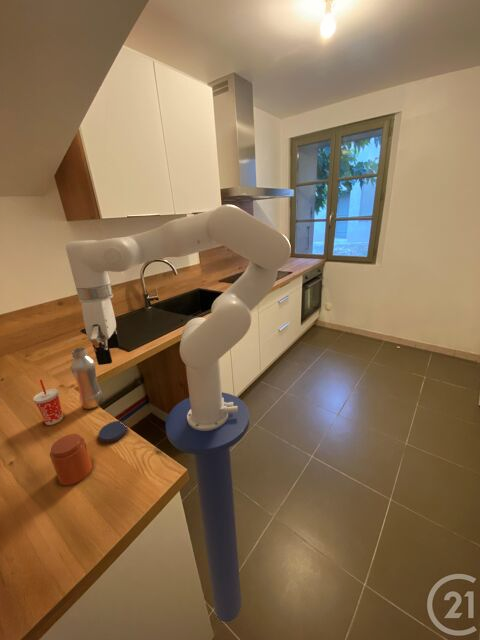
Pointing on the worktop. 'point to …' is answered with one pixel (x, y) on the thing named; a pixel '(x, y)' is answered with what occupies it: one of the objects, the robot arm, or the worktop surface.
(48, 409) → the beverage cup
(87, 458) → the jar
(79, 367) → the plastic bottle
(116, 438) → the lid
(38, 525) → the worktop surface
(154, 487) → the worktop surface
